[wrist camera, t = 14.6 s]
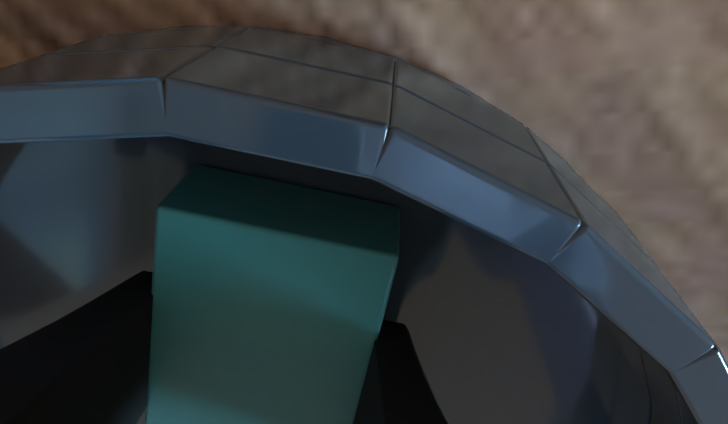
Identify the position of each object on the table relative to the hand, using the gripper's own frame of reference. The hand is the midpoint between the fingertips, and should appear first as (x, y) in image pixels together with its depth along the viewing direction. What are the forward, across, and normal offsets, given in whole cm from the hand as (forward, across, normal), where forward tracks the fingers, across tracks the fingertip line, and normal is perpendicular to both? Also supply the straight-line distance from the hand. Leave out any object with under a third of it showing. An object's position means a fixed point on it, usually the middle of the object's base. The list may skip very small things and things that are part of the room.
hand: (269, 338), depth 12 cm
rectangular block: (+1, 0, 0) cm, 1 cm away
